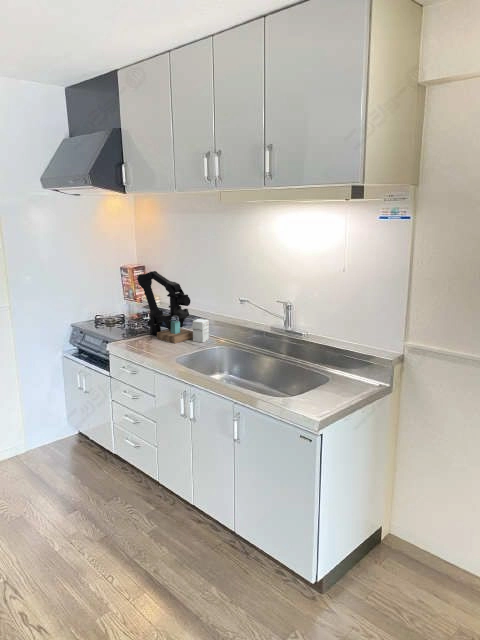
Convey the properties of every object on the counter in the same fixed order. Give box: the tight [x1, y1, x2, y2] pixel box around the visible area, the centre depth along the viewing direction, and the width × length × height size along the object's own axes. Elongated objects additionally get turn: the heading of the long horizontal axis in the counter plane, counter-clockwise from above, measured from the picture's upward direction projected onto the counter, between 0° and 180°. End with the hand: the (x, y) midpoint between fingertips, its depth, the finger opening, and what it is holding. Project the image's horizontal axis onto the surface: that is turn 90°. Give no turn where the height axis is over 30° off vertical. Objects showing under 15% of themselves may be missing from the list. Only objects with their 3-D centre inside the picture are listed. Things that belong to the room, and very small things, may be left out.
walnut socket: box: [156, 328, 193, 344], centre depth 295 cm, size 16×16×4 cm
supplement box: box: [192, 318, 210, 343], centre depth 289 cm, size 7×7×13 cm
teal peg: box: [171, 320, 181, 334], centre depth 294 cm, size 4×4×10 cm
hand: (175, 329), depth 294 cm, fingers open, 9 cm apart
